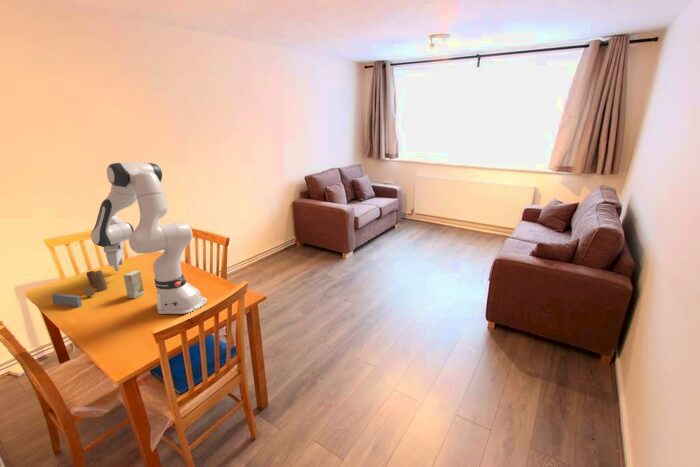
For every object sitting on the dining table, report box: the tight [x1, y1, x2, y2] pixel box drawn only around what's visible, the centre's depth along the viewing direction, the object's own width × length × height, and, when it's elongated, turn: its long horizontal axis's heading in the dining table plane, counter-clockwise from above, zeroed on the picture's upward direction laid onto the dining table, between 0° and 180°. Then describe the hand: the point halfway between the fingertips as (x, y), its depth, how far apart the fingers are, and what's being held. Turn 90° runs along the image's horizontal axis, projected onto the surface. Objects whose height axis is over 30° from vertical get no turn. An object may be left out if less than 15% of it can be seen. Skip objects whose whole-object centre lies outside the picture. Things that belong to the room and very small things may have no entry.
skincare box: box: [123, 270, 145, 299], centre depth 166 cm, size 6×4×12 cm
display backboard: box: [51, 292, 83, 308], centre depth 157 cm, size 14×2×5 cm, turn 79°
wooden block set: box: [83, 270, 108, 298], centre depth 171 cm, size 18×9×10 cm, turn 38°
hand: (119, 267), depth 185 cm, fingers open, 8 cm apart
